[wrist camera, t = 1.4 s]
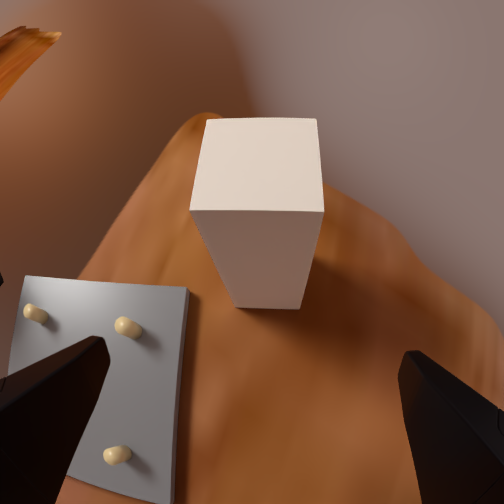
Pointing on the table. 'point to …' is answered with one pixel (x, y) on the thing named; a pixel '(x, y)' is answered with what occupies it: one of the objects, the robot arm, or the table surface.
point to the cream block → (260, 206)
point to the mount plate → (115, 374)
